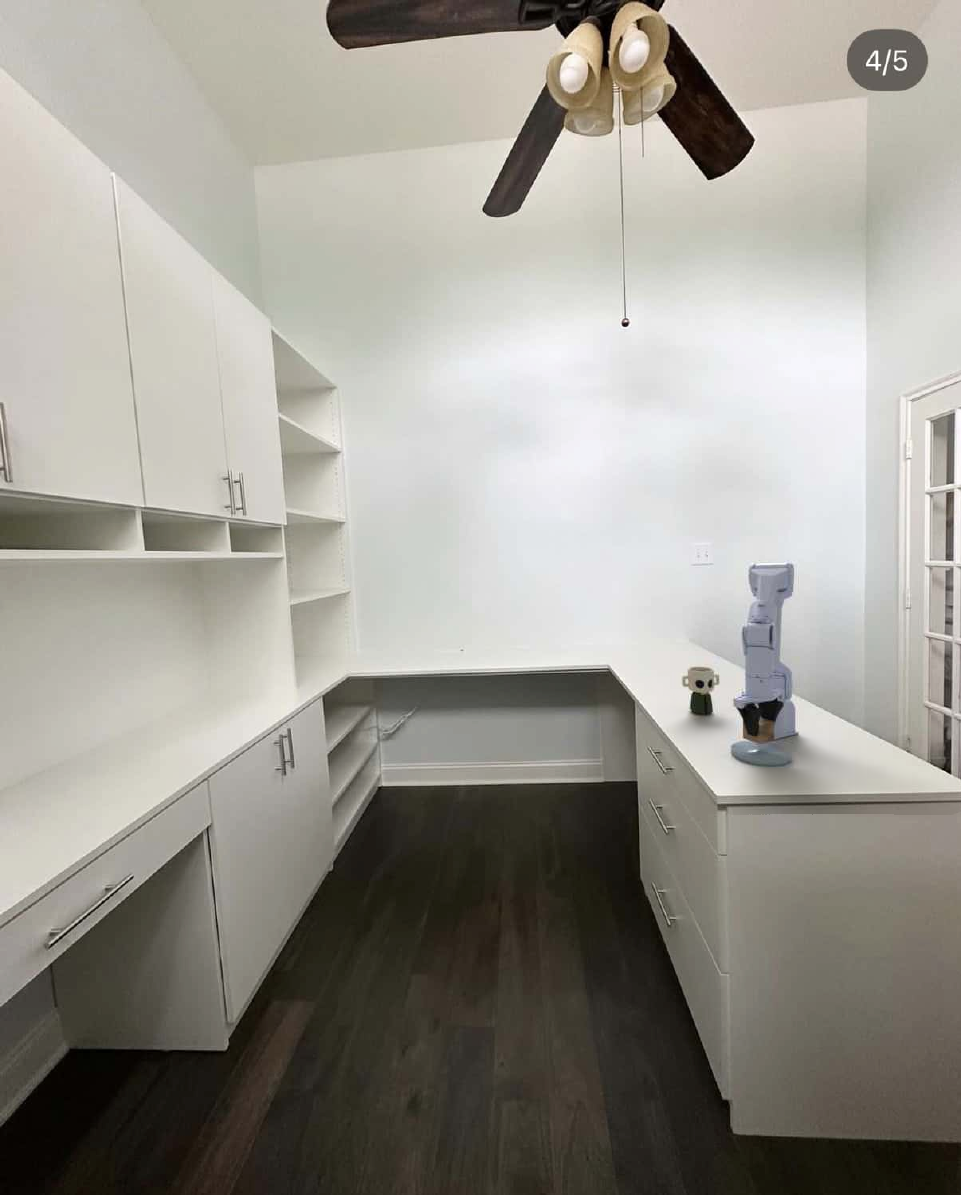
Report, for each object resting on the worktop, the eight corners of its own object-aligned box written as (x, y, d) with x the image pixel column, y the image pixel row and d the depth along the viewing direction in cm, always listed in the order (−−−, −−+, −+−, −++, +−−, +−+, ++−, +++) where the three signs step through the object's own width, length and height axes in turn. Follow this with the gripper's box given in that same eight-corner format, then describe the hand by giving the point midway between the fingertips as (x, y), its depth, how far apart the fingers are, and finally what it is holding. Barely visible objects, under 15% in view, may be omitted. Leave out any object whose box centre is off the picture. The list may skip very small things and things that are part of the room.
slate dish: (756, 742, 123) (756, 737, 123) (803, 759, 112) (803, 754, 112) (719, 751, 119) (719, 746, 119) (763, 770, 108) (763, 765, 108)
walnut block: (756, 734, 119) (756, 716, 118) (774, 740, 114) (774, 721, 114) (743, 738, 117) (742, 719, 116) (760, 744, 113) (760, 725, 112)
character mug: (687, 717, 144) (687, 672, 143) (678, 709, 151) (677, 667, 150) (725, 715, 144) (725, 670, 143) (714, 707, 151) (713, 665, 150)
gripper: (765, 667, 121) (765, 722, 122) (721, 676, 115) (722, 733, 116) (793, 673, 114) (793, 731, 115) (748, 682, 108) (749, 743, 110)
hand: (759, 733), depth 115 cm, fingers closed on walnut block, 4 cm apart
